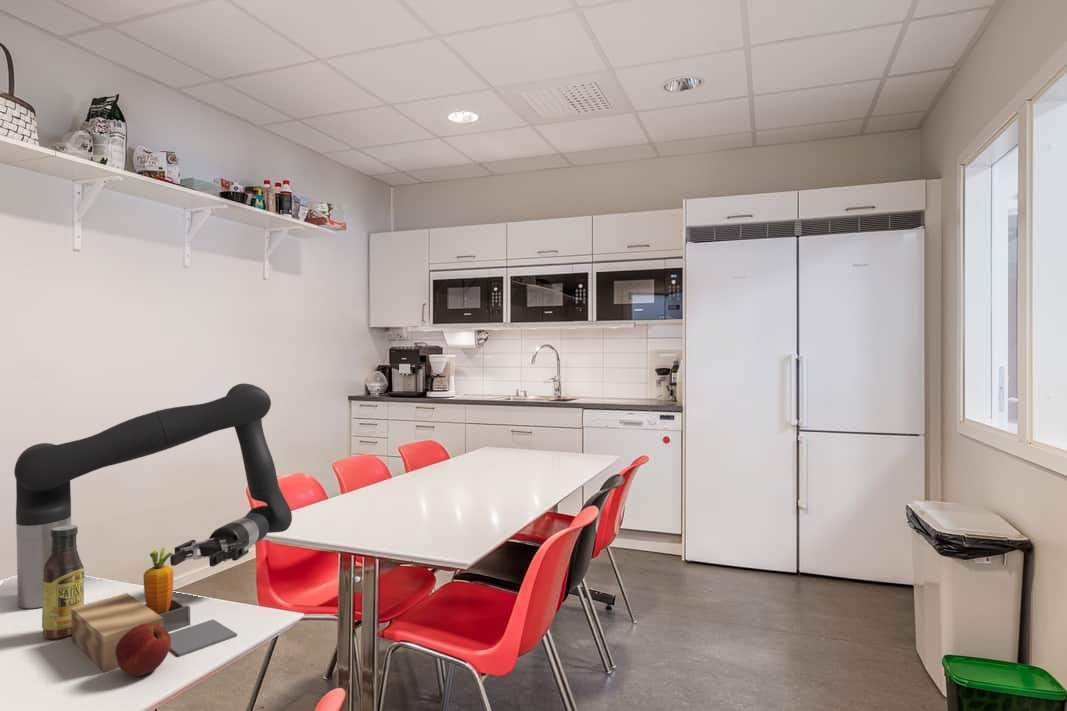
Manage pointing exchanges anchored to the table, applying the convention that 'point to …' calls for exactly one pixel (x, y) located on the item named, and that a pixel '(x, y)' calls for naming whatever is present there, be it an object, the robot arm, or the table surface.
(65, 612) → the sauce bottle
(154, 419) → the robot arm
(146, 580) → the carrot
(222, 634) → the rubber mat
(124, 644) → the apple
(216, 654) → the table surface
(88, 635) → the wooden drawer box
